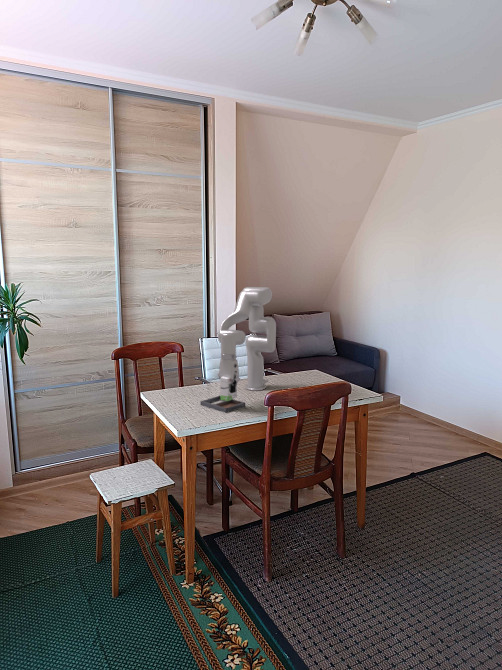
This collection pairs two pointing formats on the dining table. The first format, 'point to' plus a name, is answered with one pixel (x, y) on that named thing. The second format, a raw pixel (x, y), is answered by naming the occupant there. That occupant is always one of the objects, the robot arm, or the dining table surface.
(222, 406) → the rail frame
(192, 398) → the dining table surface
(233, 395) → the ink box
